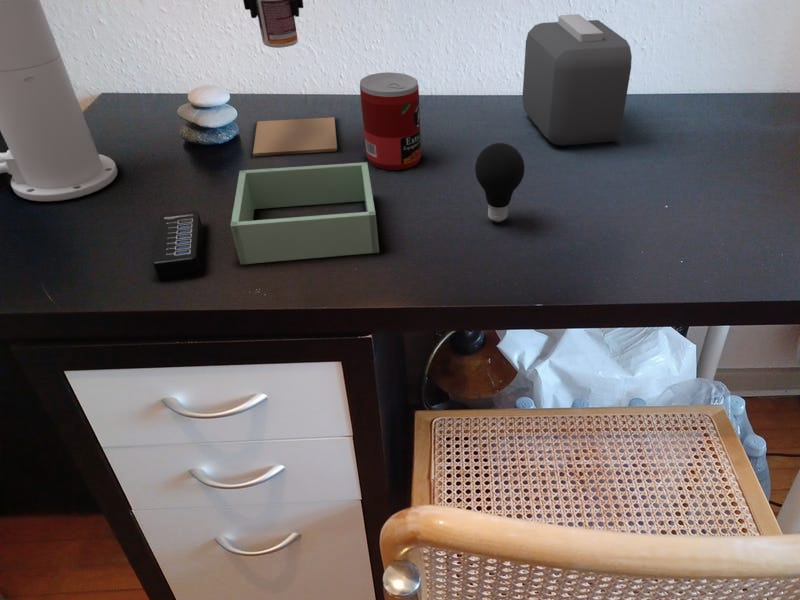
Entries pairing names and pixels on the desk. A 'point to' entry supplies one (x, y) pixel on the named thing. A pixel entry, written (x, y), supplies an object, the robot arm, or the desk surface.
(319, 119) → the coaster
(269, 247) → the open box
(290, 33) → the pill bottle
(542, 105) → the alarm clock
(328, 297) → the desk surface
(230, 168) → the desk surface
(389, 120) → the canned food
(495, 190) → the light bulb
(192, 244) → the multiport hub
